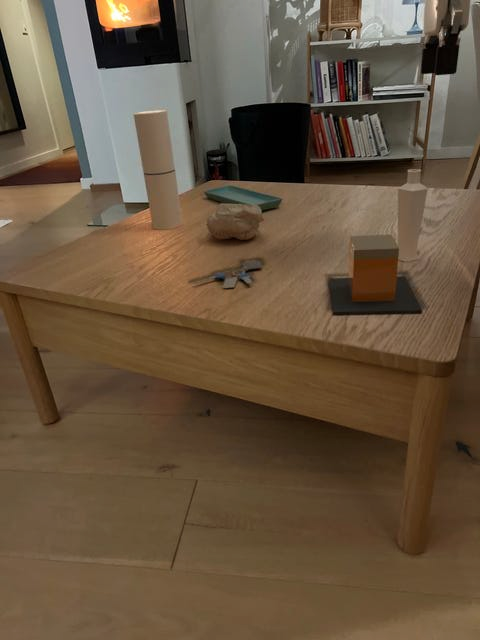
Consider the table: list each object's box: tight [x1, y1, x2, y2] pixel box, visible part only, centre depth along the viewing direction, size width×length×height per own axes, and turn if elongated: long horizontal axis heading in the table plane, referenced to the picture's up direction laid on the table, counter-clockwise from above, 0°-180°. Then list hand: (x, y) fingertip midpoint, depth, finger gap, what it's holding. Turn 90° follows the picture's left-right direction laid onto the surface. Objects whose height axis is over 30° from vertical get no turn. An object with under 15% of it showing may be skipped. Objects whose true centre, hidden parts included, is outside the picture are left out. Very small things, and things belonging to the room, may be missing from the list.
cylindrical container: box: [133, 109, 183, 231], centre depth 108 cm, size 7×7×25 cm
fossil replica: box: [206, 203, 265, 241], centre depth 99 cm, size 12×8×10 cm
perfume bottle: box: [397, 168, 429, 263], centre depth 80 cm, size 5×4×15 cm
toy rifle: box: [193, 260, 263, 289], centre depth 81 cm, size 14×8×1 cm, turn 133°
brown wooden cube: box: [348, 233, 399, 302], centre depth 69 cm, size 8×6×6 cm
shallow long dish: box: [203, 184, 284, 212], centre depth 127 cm, size 26×9×2 cm, turn 32°
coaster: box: [328, 275, 423, 316], centre depth 71 cm, size 12×12×1 cm
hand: (437, 74), depth 80 cm, fingers open, 9 cm apart
